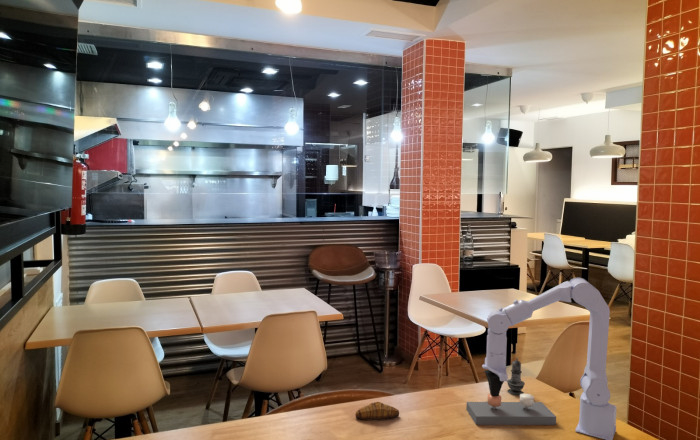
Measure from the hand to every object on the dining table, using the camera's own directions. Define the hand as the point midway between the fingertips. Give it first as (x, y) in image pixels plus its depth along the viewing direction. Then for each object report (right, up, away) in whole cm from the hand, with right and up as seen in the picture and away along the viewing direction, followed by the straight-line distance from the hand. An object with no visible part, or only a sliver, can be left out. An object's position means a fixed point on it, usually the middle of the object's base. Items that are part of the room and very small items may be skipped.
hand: (494, 395), depth 148 cm
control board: (+5, -7, +1) cm, 8 cm away
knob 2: (+10, -4, +1) cm, 11 cm away
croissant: (-36, -6, -2) cm, 36 cm away
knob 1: (0, -4, 0) cm, 4 cm away
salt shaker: (+13, -6, +19) cm, 24 cm away
